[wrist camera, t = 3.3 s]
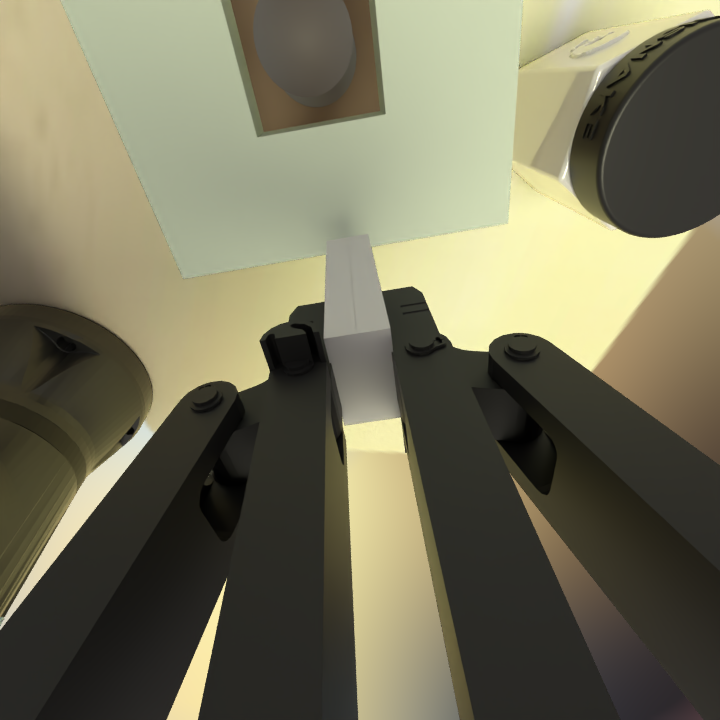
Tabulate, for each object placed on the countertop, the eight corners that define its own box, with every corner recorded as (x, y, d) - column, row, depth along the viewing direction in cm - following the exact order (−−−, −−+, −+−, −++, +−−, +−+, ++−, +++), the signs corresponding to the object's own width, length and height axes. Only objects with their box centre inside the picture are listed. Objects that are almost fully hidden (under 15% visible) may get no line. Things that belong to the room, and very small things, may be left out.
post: (228, 217, 28) (162, 310, 17) (116, -118, 19) (-198, -412, 8) (450, 179, 28) (537, 247, 16) (445, -185, 19) (634, -604, 7)
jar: (625, 6, 23) (845, -48, 13) (632, 148, 28) (801, 185, 18) (478, 86, 25) (576, 89, 15) (507, 207, 29) (597, 271, 20)
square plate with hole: (195, 262, 20) (183, 279, 18) (-12, -238, 11) (-69, -292, 10) (492, 211, 19) (507, 223, 18) (518, -352, 11) (552, -429, 9)
